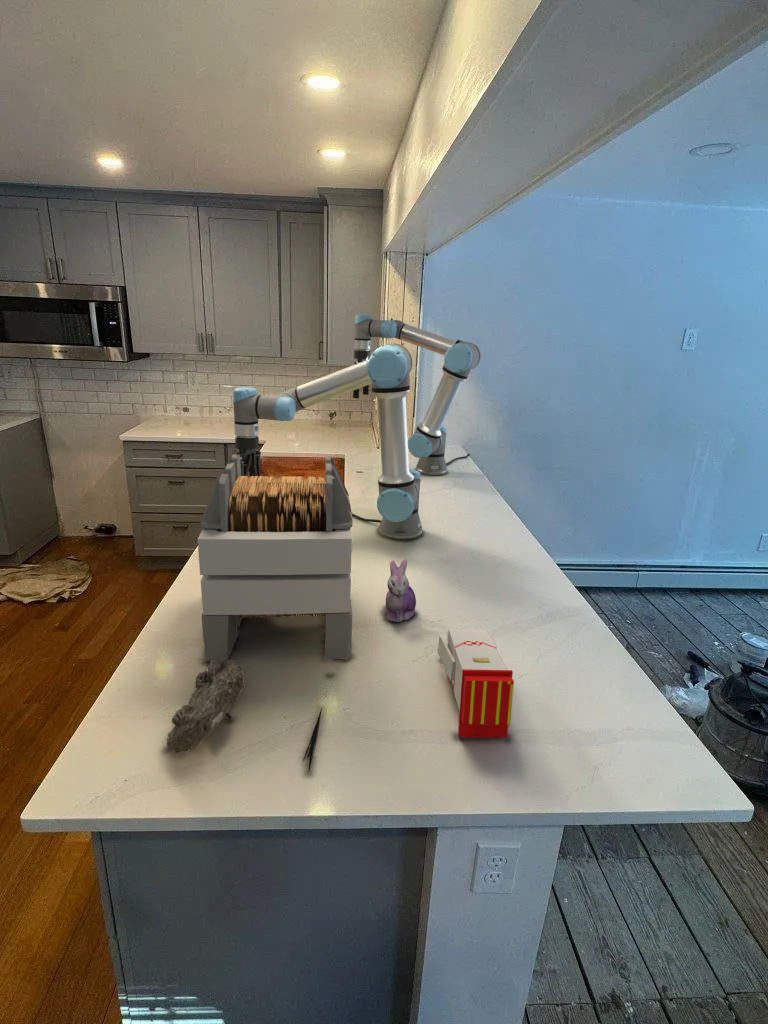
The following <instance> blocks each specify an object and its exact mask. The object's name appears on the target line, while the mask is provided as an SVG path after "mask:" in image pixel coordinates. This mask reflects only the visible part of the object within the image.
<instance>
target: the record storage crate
mask: <svg viewBox="0 0 768 1024" xmlns="http://www.w3.org/2000/svg"><path fill="white" fill-rule="evenodd" d="M324 457H325V458H324V459H325V461H324V462H325V463H324V464H325V465H324V468H325V469H324V476H318V477H316V476H307V477H303V476H288V475H287V476H280V477H279V476H274V475H270V476H268V475H261V476H260V477H258V476H251V477H250V476H248V477H247V476H241V464H240V455H239V454H231V457H230V459H229V462H227V463H226V466H225V467H224V470H223V472H222V474H220V476H219V478H218V480H217V482H216V484H215V487H214V488H213V491H212V493H211V496H210V498H209V500H208V502H207V505H206V507H205V509H204V511H203V513H202V516H201V518H200V527H201V532H200V533H199V535H198V537H197V550H198V565H199V576H202V577H201V579H200V590H201V591H200V592H201V606H202V607H201V608H202V613H201V626H202V627H201V629H202V640H203V646H204V658H203V660H204V662H208V663H210V662H211V661H212V660H217V661H222V662H223V661H224V660H227V659H228V660H229V658H230V655H231V653H232V650H233V648H234V645H235V643H236V640H237V638H238V628H240V625H241V621H242V619H243V618H282V617H283V618H289V617H290V618H293V617H297V618H298V617H314V616H315V617H320V616H321V617H324V653H325V654H324V655H325V660H338V659H339V660H348V659H350V658H352V644H353V643H352V641H353V639H352V638H353V610H352V600H351V588H352V587H351V586H352V582H351V581H352V577H351V574H352V553H353V552H352V548H353V547H352V546H353V537H352V530H351V528H352V527H353V523H354V520H353V516H352V506H351V501H350V500H351V499H350V494H349V491H348V489H347V487H346V485H345V483H344V481H343V478H342V477H341V474H340V472H339V470H338V468H337V466H336V463H335V461H334V460H333V457H332V455H328V454H327V455H326V454H325V456H324Z"/></svg>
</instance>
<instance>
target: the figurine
mask: <svg viewBox="0 0 768 1024" xmlns="http://www.w3.org/2000/svg"><path fill="white" fill-rule="evenodd" d="M407 567H408V559H406V558H404V559H403V560H402V561H401V563H400V565H399V566H398V565H397V563H396V562H395V561H394V560H393V559H391V560H390V561H389V570H390V576H389V578H388V579H387V589H388V591H387V592H386V594H385V595H386V596H385V607H384V615H385V616H386V620H387V621H391V622H395V623H400V622H402V621H406V620H409V619H410V618H411V617H413V616H414V615H415V610H416V606H417V597H416V593H415V591H414V590H413V587H411V586H410V582H409V579H408V577H407V574H406V571H407Z"/></svg>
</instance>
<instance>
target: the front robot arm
mask: <svg viewBox="0 0 768 1024" xmlns="http://www.w3.org/2000/svg"><path fill="white" fill-rule="evenodd" d="M412 369H413V357H412V355H411V353H410V351H409V350H408V348H407V347H405V346H404V345H402V344H400V343H389V344H386V345H385V344H384V345H381V346H379V347H378V348H376V349H375V350H374V351H373V352H371V354H370V355H369V356H367V359H366V360H365V361H363V362H360V363H357V364H355V365H354V364H352V365H350V366H347V367H345V368H342V369H339V370H336V371H333V372H332V373H329V374H325V375H323V376H322V377H319V378H316V379H313V380H311V381H309V382H306V383H303V384H301V385H298V386H296V387H293V388H290V389H286V390H284V391H283V392H280V393H277V394H274V395H262V394H259V393H258V389H257V388H255V387H250V386H242V387H241V386H239V387H236V388H234V389H233V393H232V394H233V395H232V396H233V397H232V398H233V400H232V405H233V417H234V419H233V421H234V422H233V423H234V435H235V438H234V441H235V442H234V443H235V448H236V449H238V455H240V464H241V476H247V477H251V476H258V477H260V476H262V469H261V467H262V466H261V455H262V451H261V450H257V449H258V448H259V447H260V436H258V435H259V429H260V427H259V420H269V421H279V422H292V420H294V418H295V416H296V412H299V411H301V410H304V409H308V408H309V407H312V406H315V405H317V404H320V403H323V402H326V401H328V400H331V399H334V398H336V397H340V396H342V395H345V394H347V393H350V392H353V390H356V389H358V388H359V389H361V388H363V387H364V386H367V385H369V386H370V385H371V393H372V394H373V396H374V397H376V399H377V413H378V414H377V415H378V426H379V427H378V430H379V444H380V459H381V470H382V471H381V474H380V475H379V476H378V478H377V484H378V485H377V487H378V497H377V499H376V508H377V512H378V513H379V514H380V516H381V517H382V519H375V518H364V517H361V516H359V515H357V514H355V513H352V518H354V519H357V520H359V521H362V522H368V523H377V524H378V523H379V526H378V533H379V534H380V535H381V536H382V537H385V538H387V539H389V540H395V541H410V540H415V539H418V538H420V537H421V536H422V535H423V524H422V521H421V518H420V515H419V507H420V506H419V505H420V504H419V503H420V490H421V481H422V479H421V476H422V474H421V473H420V472H419V471H416V469H412V468H410V461H409V460H410V459H409V449H408V440H409V438H408V421H407V419H408V418H407V399H406V397H407V395H408V394H409V393H410V391H411V377H410V373H411V371H412Z"/></svg>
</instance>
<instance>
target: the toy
mask: <svg viewBox="0 0 768 1024" xmlns="http://www.w3.org/2000/svg"><path fill="white" fill-rule="evenodd" d="M446 640H447V643H446V641H445V639H444V636H443V635H442V634H439V637H438V646H437V656H438V657H439V659H440V661H441V663H442V666H443V668H444V670H445V672H446V674H447V677H448V679H449V681H450V684H451V687H452V690H453V693H454V697H455V701H456V705H457V708H458V711H459V714H458V715H459V716H458V730H457V731H458V732H457V737H458V738H508V731H509V726H510V725H511V717H512V707H513V697H514V696H513V695H514V684H515V680H514V679H513V673H514V671H513V670H512V669H508V667H507V665H506V662H505V661H504V659H503V658H502V655H501V653H500V651H499V649H498V647H497V643H496V639H495V637H494V635H493V634H491V632H490V631H489V629H467V628H466V629H465V628H463V629H461V628H460V629H459V628H448V630H447V639H446Z"/></svg>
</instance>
